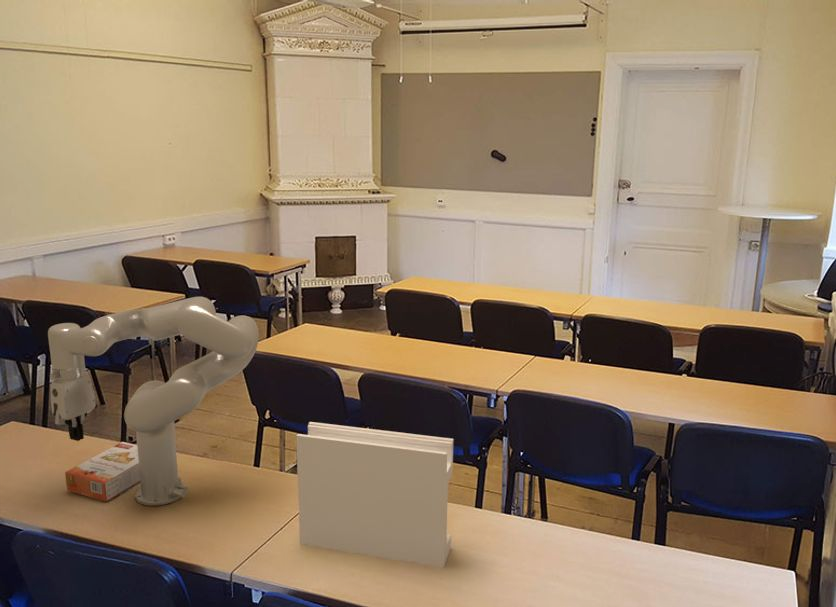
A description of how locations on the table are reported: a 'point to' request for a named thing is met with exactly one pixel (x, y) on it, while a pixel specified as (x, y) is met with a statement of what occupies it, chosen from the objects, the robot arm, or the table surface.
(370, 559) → the table surface
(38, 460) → the table surface
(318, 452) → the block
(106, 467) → the cracker box
